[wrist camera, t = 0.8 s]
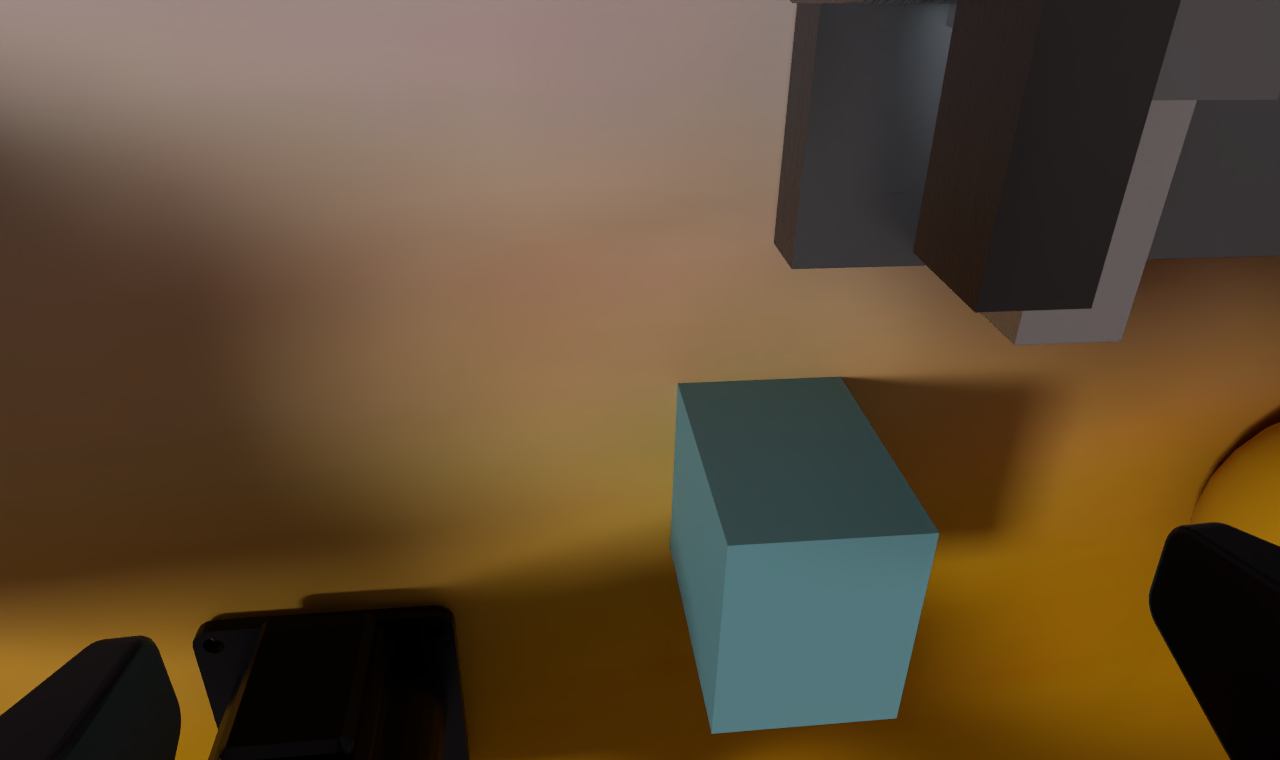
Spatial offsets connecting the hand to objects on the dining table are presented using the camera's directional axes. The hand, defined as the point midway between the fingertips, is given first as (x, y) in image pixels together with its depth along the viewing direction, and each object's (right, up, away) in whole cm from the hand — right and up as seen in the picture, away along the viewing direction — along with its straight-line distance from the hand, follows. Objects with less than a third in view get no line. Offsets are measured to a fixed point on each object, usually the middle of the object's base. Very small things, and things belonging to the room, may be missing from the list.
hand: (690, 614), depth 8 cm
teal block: (+2, 0, +15) cm, 15 cm away
